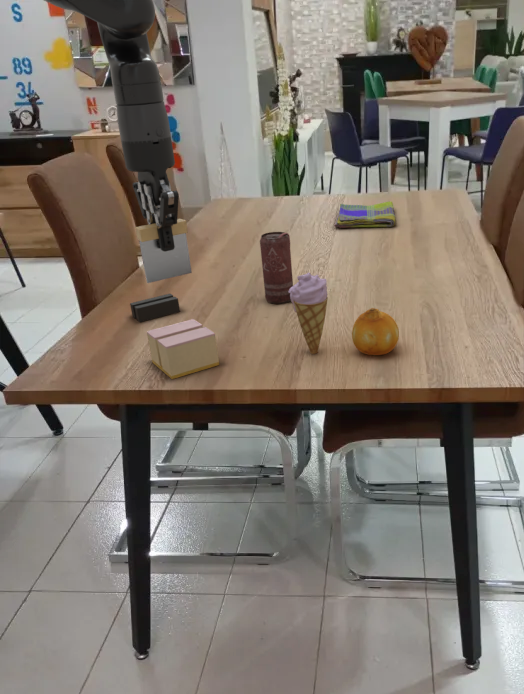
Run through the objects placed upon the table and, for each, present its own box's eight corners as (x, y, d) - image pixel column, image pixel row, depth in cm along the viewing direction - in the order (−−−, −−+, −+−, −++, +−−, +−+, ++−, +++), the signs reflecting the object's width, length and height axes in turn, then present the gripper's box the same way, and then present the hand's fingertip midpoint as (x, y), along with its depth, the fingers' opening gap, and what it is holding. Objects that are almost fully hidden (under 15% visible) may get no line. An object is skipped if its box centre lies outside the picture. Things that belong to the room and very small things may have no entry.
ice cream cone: (293, 360, 121) (286, 277, 114) (293, 346, 126) (286, 266, 119) (331, 357, 121) (326, 274, 114) (329, 344, 127) (325, 263, 119)
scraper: (149, 284, 113) (139, 229, 109) (144, 281, 115) (134, 227, 111) (194, 274, 117) (186, 220, 113) (188, 271, 119) (180, 218, 114)
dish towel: (395, 208, 217) (395, 199, 215) (395, 228, 196) (395, 218, 194) (339, 210, 218) (339, 201, 217) (333, 230, 198) (333, 220, 196)
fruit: (345, 349, 118) (368, 309, 115) (342, 335, 125) (364, 296, 122) (386, 370, 120) (410, 331, 117) (382, 355, 127) (404, 317, 124)
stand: (139, 322, 142) (137, 308, 140) (132, 316, 145) (129, 303, 143) (180, 311, 146) (178, 298, 144) (172, 306, 149) (170, 293, 147)
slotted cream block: (171, 379, 117) (166, 346, 114) (152, 362, 124) (146, 331, 121) (219, 364, 121) (215, 333, 118) (198, 349, 128) (193, 318, 125)
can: (300, 299, 148) (295, 234, 141) (274, 306, 145) (268, 240, 138) (286, 292, 153) (281, 228, 146) (260, 299, 150) (254, 234, 143)
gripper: (106, 135, 108) (127, 244, 117) (138, 142, 98) (159, 262, 107) (151, 129, 112) (169, 236, 120) (187, 136, 102) (203, 252, 110)
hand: (164, 248), depth 114 cm, fingers closed on scraper, 2 cm apart
